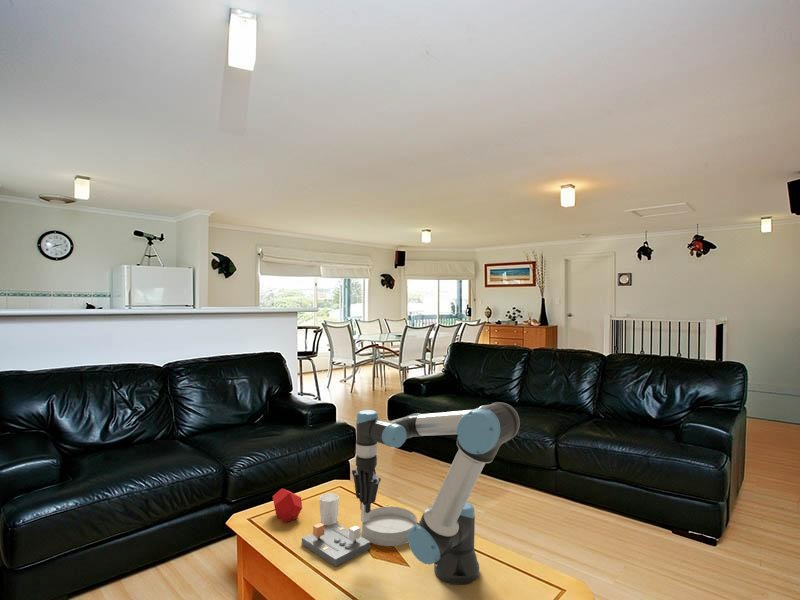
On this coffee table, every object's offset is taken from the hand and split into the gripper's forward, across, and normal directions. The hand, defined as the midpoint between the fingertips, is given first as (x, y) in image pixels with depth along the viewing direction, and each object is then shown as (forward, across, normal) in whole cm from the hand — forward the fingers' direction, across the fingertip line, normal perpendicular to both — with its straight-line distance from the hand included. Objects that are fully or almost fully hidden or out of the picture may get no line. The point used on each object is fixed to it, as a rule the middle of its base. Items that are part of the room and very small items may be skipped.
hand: (365, 520), depth 165 cm
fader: (+10, +16, +8) cm, 21 cm away
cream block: (+10, +5, 0) cm, 11 cm away
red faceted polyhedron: (+13, +44, +4) cm, 46 cm away
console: (+13, +11, +4) cm, 17 cm away
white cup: (+13, +28, -6) cm, 32 cm away
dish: (+13, +5, -18) cm, 23 cm away
